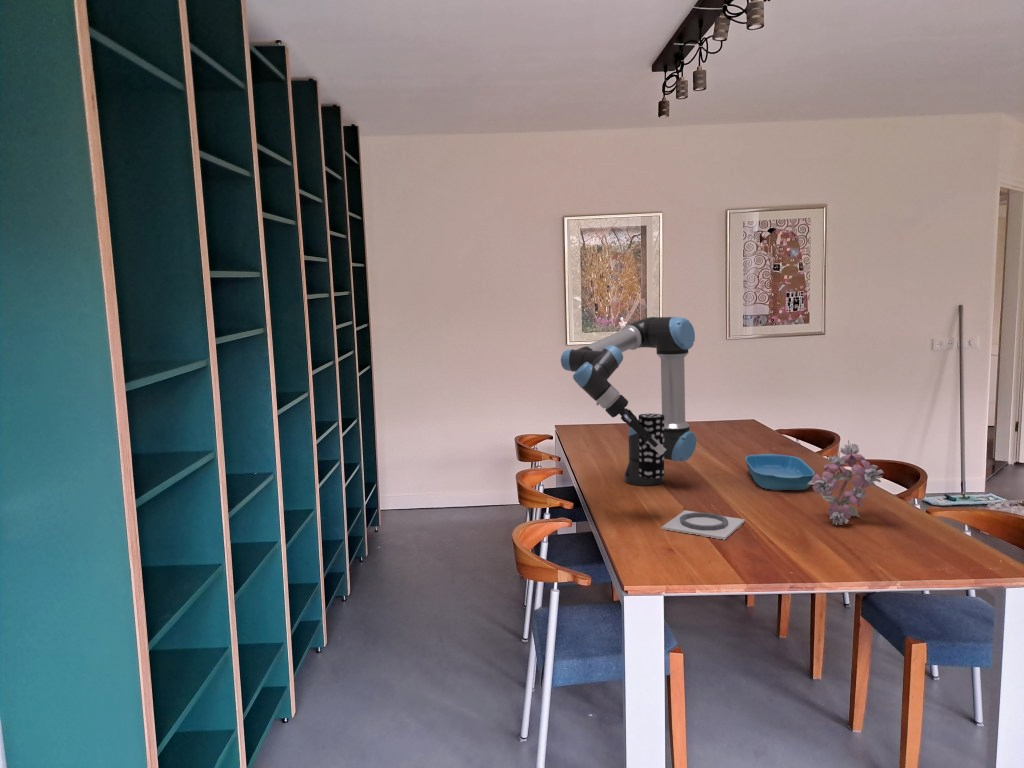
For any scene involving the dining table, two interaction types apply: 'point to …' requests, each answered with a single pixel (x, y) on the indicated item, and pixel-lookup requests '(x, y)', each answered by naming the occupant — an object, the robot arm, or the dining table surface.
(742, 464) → the dining table surface
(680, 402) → the robot arm
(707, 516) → the ring dock
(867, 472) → the flower
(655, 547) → the dining table surface
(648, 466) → the spotted tube
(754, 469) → the casserole dish
